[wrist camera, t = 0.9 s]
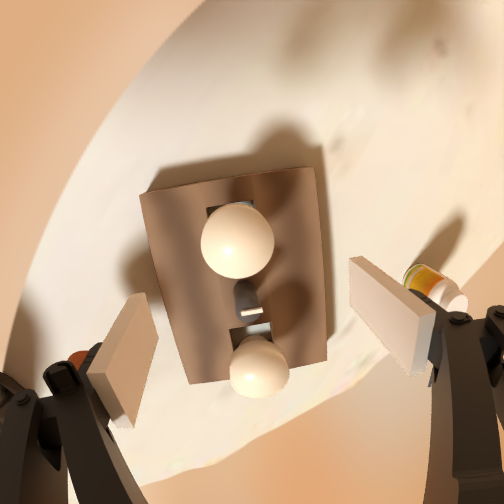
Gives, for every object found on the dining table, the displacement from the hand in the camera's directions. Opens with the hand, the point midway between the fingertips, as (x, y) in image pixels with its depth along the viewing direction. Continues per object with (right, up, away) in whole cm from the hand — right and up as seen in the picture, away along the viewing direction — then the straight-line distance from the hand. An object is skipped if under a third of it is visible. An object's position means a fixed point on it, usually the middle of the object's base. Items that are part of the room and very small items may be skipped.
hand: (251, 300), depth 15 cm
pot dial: (-1, -2, +18) cm, 18 cm away
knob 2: (0, -9, +19) cm, 21 cm away
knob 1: (-2, +5, +15) cm, 16 cm away
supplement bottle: (+23, -2, +24) cm, 33 cm away
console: (-1, -1, +21) cm, 21 cm away
